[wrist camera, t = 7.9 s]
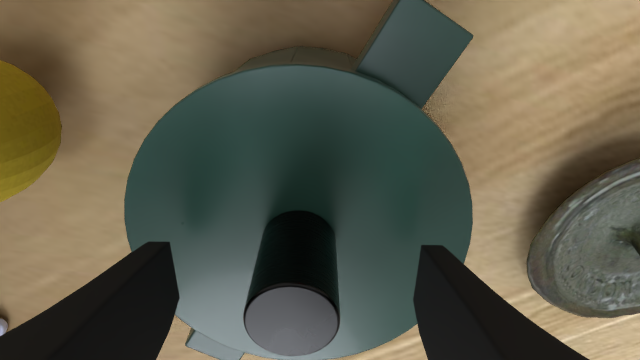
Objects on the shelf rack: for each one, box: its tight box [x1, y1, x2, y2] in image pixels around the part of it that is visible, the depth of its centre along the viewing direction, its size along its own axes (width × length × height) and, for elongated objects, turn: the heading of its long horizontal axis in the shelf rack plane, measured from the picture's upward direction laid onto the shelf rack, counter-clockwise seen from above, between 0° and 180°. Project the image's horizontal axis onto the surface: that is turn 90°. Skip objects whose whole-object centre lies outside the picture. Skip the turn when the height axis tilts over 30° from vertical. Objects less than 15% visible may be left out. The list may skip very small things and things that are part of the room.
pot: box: [185, 0, 473, 360], centre depth 16 cm, size 10×16×6 cm, turn 149°
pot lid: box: [124, 62, 473, 360], centre depth 12 cm, size 11×11×5 cm
